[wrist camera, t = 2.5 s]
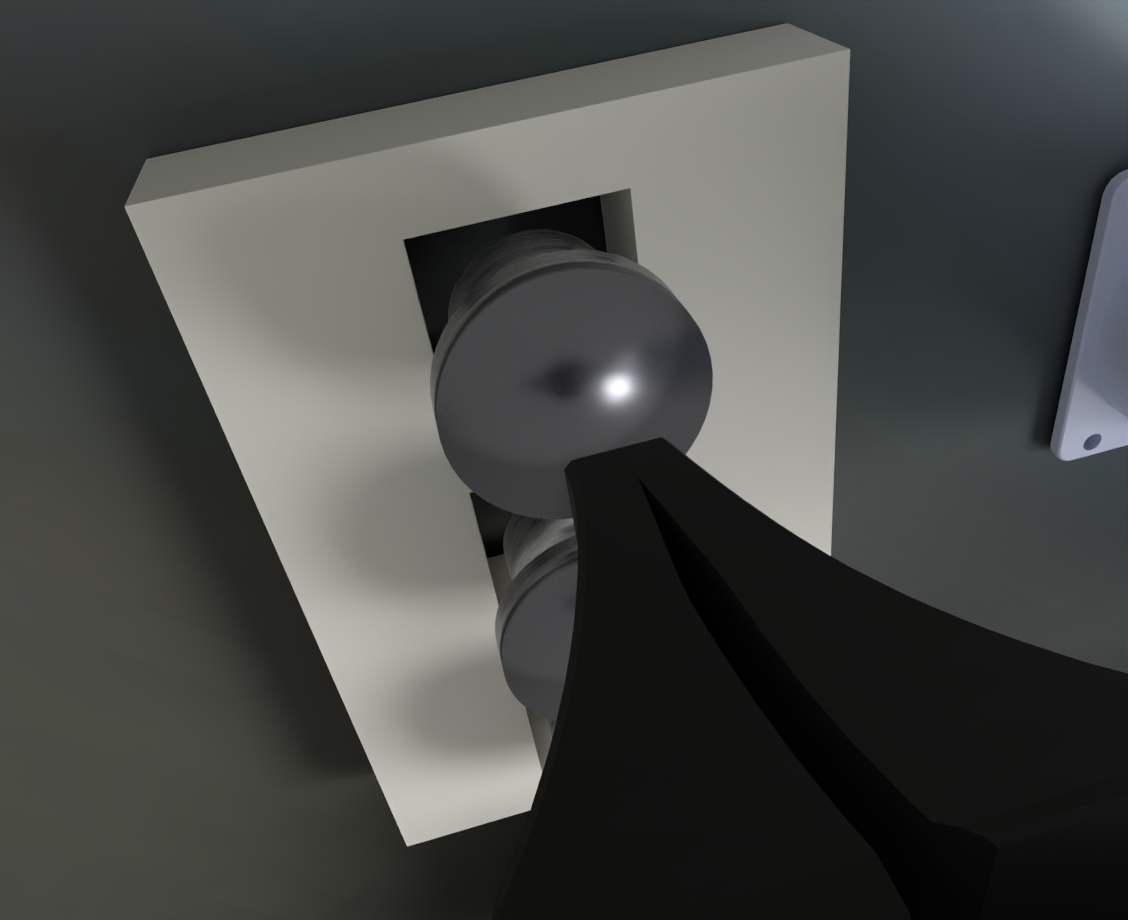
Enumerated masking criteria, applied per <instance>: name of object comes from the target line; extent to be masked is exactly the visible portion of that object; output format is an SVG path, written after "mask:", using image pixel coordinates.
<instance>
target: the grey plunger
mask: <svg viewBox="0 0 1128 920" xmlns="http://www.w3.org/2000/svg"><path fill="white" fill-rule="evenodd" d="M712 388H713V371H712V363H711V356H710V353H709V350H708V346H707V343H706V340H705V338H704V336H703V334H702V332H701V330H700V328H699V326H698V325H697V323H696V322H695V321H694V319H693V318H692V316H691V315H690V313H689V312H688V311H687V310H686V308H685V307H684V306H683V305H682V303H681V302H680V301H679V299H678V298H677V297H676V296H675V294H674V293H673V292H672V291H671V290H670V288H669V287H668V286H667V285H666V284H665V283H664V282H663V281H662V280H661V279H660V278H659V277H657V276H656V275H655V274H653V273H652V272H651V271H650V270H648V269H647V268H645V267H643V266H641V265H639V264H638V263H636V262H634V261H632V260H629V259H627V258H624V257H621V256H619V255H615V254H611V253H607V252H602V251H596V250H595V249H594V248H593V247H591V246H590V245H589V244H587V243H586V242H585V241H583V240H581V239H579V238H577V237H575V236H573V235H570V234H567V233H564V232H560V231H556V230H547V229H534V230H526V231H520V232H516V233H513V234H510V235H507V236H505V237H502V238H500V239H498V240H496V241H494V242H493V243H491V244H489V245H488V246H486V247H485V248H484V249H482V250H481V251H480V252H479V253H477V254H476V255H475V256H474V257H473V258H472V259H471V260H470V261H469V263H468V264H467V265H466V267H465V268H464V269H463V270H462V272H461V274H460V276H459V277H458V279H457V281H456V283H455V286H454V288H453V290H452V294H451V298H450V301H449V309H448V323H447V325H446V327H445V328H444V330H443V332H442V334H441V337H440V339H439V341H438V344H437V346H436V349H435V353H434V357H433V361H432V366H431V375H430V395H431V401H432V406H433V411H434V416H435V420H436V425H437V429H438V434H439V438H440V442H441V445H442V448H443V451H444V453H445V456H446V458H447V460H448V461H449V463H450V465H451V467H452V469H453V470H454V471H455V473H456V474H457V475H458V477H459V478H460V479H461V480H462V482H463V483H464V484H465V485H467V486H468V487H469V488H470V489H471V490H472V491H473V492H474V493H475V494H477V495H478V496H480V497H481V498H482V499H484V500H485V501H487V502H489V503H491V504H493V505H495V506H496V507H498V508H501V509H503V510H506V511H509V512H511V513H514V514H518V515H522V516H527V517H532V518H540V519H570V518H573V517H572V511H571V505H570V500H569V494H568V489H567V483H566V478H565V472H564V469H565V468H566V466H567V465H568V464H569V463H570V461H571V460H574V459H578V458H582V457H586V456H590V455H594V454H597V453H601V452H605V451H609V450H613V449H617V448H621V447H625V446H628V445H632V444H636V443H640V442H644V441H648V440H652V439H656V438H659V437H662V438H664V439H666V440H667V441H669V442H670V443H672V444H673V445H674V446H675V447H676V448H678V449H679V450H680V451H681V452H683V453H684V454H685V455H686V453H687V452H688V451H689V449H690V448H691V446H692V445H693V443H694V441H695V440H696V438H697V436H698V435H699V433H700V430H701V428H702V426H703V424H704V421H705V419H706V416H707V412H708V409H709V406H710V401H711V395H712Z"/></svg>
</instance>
